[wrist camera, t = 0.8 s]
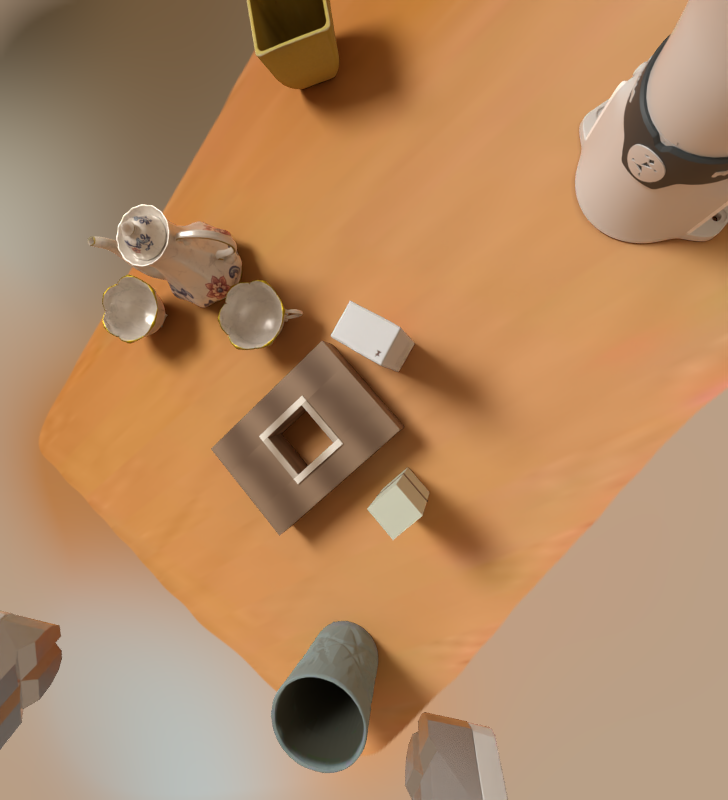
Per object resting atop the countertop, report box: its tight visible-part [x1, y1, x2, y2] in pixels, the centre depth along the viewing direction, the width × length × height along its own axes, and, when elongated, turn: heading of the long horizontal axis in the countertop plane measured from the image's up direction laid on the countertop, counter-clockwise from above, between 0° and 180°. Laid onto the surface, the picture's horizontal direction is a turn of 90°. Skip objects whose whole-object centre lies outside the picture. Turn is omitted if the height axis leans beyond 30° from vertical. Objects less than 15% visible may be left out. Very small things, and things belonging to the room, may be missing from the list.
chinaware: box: [88, 204, 303, 350], centre depth 50 cm, size 28×17×17 cm, turn 90°
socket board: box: [211, 341, 404, 536], centre depth 52 cm, size 20×14×4 cm
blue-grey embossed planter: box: [271, 621, 378, 773], centre depth 48 cm, size 10×10×12 cm
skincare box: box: [331, 301, 415, 372], centre depth 46 cm, size 6×4×12 cm
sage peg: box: [368, 467, 430, 540], centre depth 47 cm, size 4×4×10 cm
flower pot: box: [247, 0, 339, 89], centre depth 49 cm, size 9×9×9 cm
